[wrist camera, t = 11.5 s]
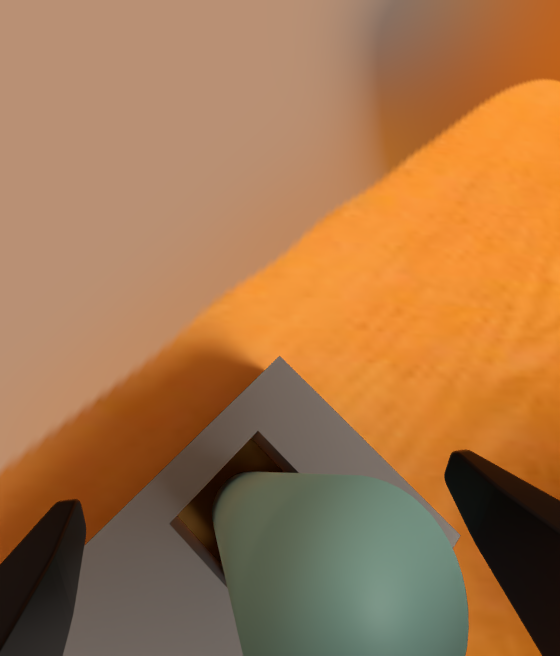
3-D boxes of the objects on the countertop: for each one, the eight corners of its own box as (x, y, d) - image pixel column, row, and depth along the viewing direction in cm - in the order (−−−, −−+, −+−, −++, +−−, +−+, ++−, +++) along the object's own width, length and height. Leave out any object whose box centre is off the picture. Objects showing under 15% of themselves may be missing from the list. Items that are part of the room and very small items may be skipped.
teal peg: (276, 560, 16) (464, 784, 5) (202, 543, 16) (207, 741, 4) (291, 480, 17) (471, 502, 6) (223, 464, 17) (271, 452, 6)
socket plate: (189, 874, 13) (185, 989, 10) (-2, 636, 14) (-54, 680, 11) (420, 524, 18) (460, 535, 15) (268, 372, 19) (279, 355, 16)
